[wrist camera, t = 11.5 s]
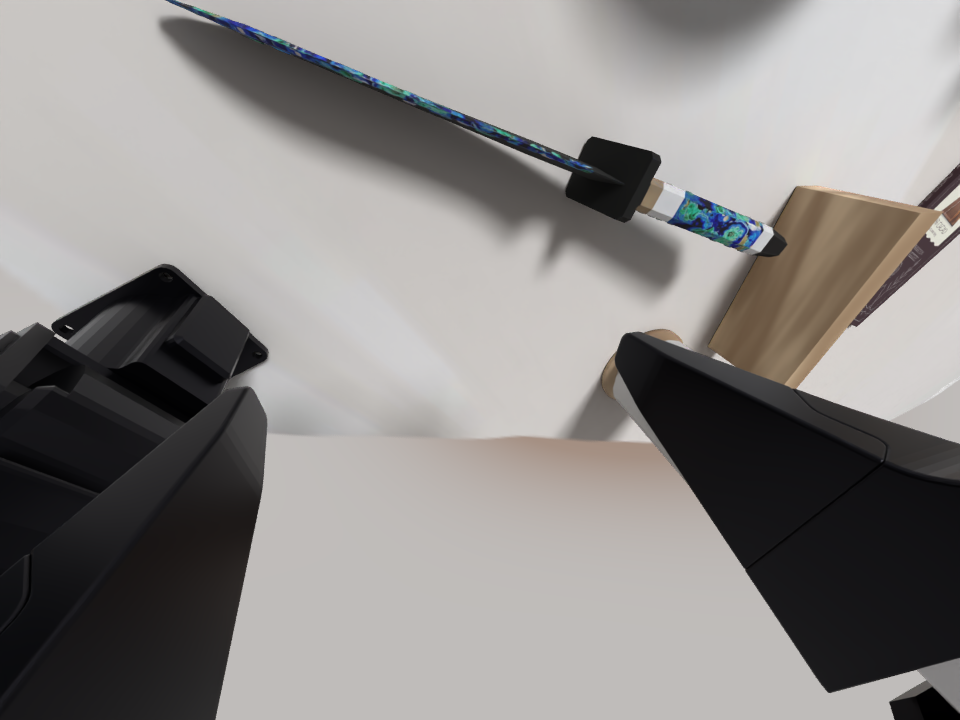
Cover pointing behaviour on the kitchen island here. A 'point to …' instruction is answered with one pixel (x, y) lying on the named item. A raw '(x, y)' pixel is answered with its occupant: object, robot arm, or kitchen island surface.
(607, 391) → the coaster
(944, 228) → the chocolate bar
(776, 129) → the kitchen island surface
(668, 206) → the knife
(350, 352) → the kitchen island surface
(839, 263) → the plinth board
